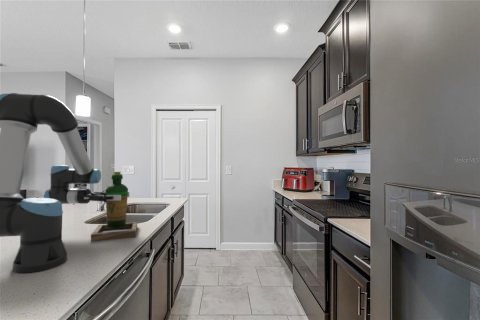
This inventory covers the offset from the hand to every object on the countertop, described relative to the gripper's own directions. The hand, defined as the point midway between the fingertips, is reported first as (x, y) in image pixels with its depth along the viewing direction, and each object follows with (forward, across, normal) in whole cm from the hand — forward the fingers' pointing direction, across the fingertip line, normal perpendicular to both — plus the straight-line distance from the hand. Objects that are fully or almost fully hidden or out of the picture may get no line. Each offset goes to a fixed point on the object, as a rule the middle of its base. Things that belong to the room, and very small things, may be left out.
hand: (125, 195), depth 125 cm
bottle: (-4, 0, -16) cm, 16 cm away
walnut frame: (-4, 0, -19) cm, 20 cm away
